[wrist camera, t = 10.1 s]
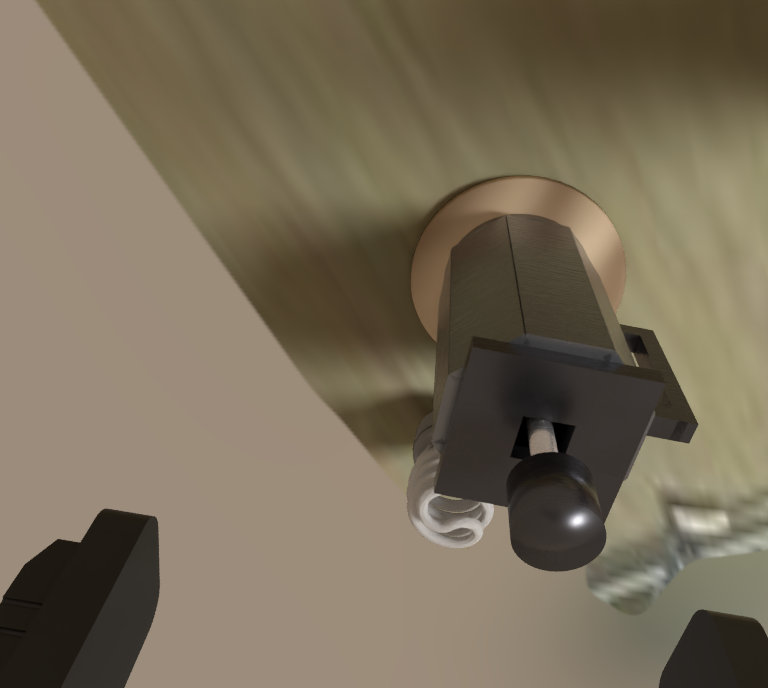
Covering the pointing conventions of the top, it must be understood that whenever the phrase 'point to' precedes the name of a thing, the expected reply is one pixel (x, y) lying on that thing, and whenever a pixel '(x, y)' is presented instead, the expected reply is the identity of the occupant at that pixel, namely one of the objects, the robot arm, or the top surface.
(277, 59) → the top surface
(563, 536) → the plunger
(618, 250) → the disc
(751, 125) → the top surface
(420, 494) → the light bulb
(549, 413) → the carafe
